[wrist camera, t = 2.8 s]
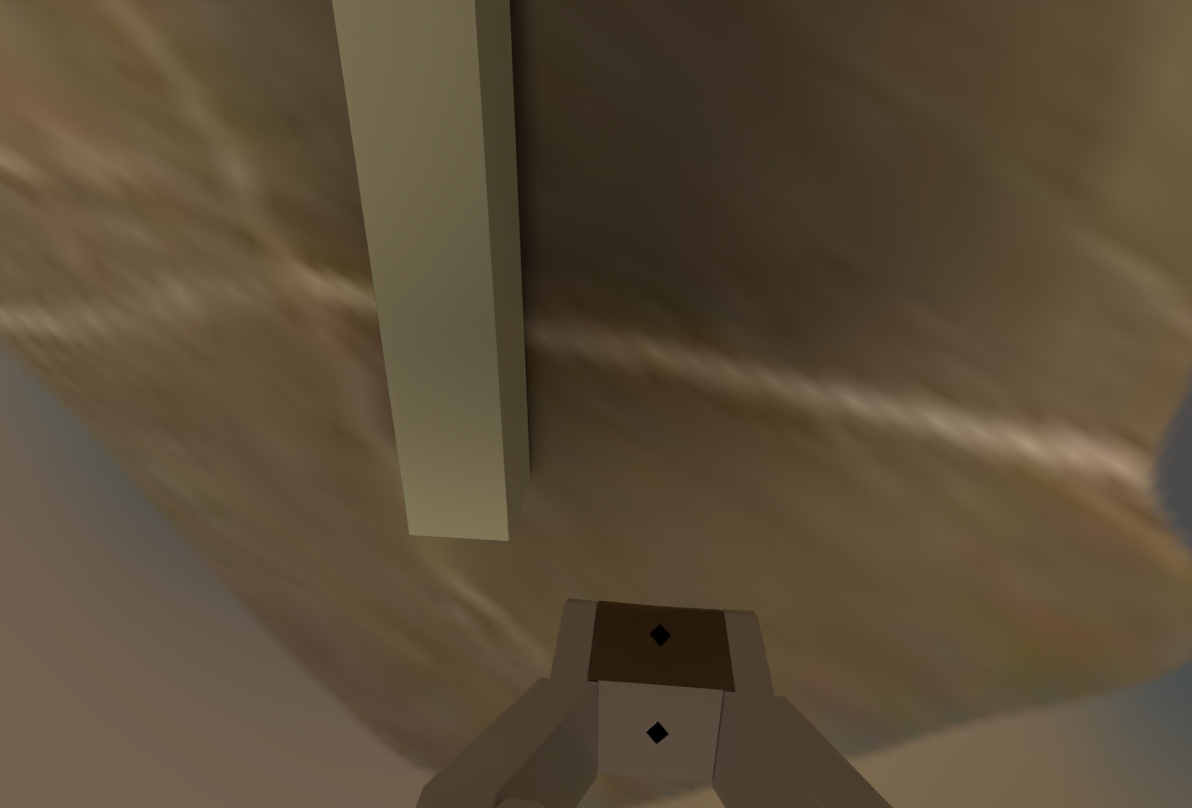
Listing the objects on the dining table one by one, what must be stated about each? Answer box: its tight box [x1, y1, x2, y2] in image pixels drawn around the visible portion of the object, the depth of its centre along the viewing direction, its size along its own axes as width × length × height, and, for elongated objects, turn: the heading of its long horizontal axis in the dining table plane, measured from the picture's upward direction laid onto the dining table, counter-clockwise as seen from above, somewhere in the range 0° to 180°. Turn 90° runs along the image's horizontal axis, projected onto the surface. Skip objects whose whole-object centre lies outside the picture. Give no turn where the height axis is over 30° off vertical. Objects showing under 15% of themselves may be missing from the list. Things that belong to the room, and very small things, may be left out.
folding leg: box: [332, 0, 530, 541], centre depth 18 cm, size 23×4×5 cm, turn 0°
